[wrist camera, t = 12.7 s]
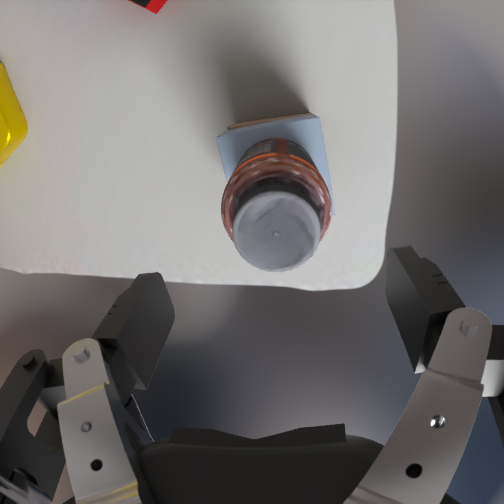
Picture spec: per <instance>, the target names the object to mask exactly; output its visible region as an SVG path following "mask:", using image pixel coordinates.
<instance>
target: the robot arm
mask: <svg viewBox="0 0 504 504" xmlns="http://www.w3.org/2000/svg"><path fill="white" fill-rule="evenodd" d="M386 297H387V302H388V305H389V307H390V310H391V312H392V314H393V317H394V320H395V322H396V325H397V327H398V330H399V332H400V335H401V338H402V340H403V343H404V345H405V348H406V351H407V353H408V356H409V359H410V362H411V365H412V368H413V370H414V373H420V372H423V374H422V376H421V378H420V380H419V383H418V385H417V387H416V389H415V391H414V393H413V395H412V397H411V399H410V401H409V403H408V405H407V407H406V409H405V410H404V412H403V414H402V416H401V418H400V420H399V422H398V423H397V425H396V427H395V429H394V430H393V432H392V434H391V436H390V437H389V439H388V441H387V442H386V444H385V445H382V444H380V443H377V442H375V441H373V440H370V439H367V438H364V437H359V436H354V435H346V434H345V425H344V424H335V425H326V426H316V427H305V428H298V429H294V430H291V431H287V432H284V433H280V434H276V435H272V436H268V437H263V438H259V439H249V438H245V437H241V436H237V435H233V434H228V433H225V432H221V431H217V430H214V429H199V428H185V427H174V428H173V432H172V435H171V438H167V439H162V440H159V441H156V442H154V441H153V440H152V438H151V436H150V434H149V432H148V429H147V427H146V425H145V423H144V420H143V418H142V416H141V413H140V411H139V409H138V406H137V404H136V401H135V399H134V397H133V396H132V391H133V389H147V388H148V385H149V383H150V380H151V377H152V375H153V372H154V370H155V367H156V364H157V362H158V359H159V357H160V355H161V352H162V350H163V347H164V345H165V342H166V340H167V338H168V335H169V333H170V330H171V328H172V325H173V323H174V318H175V314H174V307H173V304H172V302H171V299H170V296H169V294H168V291H167V288H166V285H165V283H164V280H163V277H162V275H161V274H160V273H158V272H155V273H145V274H139V275H138V276H137V277H136V279H135V280H134V282H133V283H132V285H131V286H130V288H128V289H127V290H126V291H124V292H123V293H122V294H121V295H120V296H118V298H117V300H116V301H115V302H114V304H113V307H111V309H110V310H109V311H108V315H106V316H105V317H104V319H103V321H102V322H101V324H100V325H99V327H98V328H97V330H96V331H95V333H94V335H93V336H92V338H87V339H82V340H79V341H77V342H75V343H74V344H72V345H71V346H70V347H69V348H68V349H67V350H66V352H65V353H64V355H63V358H59V359H54V360H49V359H48V358H47V357H46V355H45V354H44V352H43V351H42V350H39V349H36V350H31V351H29V352H27V353H26V354H25V355H23V356H22V357H21V358H20V359H19V360H18V362H17V364H16V365H15V366H14V368H13V370H12V371H11V373H10V374H9V376H8V377H7V379H6V381H5V382H4V384H3V386H2V387H1V389H0V504H52V501H53V497H54V494H55V491H56V488H57V485H58V482H59V479H60V477H61V474H62V471H63V468H64V465H65V462H66V463H67V468H68V472H69V477H70V480H71V485H72V488H73V492H74V496H73V497H72V498H71V499H69V500H68V501H66V502H65V503H63V504H461V503H460V502H458V501H457V500H456V499H454V498H453V497H452V496H450V495H449V494H448V493H446V490H447V488H448V486H449V484H450V482H451V479H452V477H453V475H454V473H455V471H456V468H457V466H458V464H459V461H460V459H461V457H462V454H463V452H464V449H465V446H466V443H467V441H468V438H469V436H470V433H471V430H472V427H473V424H474V421H475V418H476V415H477V412H478V408H479V405H480V402H481V398H482V396H484V397H487V398H488V400H489V403H490V406H491V409H492V412H493V415H494V418H495V421H496V424H497V427H498V430H499V434H500V437H501V440H502V444H503V447H504V325H492V324H491V322H490V320H489V318H488V317H487V316H485V314H484V313H482V312H480V311H478V310H476V309H472V308H466V307H465V305H464V303H463V302H462V300H461V299H460V297H459V296H458V294H457V293H456V292H455V290H454V289H453V287H452V286H451V285H450V283H448V280H447V279H446V277H445V276H443V273H442V272H441V270H440V269H439V268H438V266H437V265H436V264H434V263H433V262H431V261H430V260H428V259H427V258H419V256H418V255H417V253H416V252H415V251H414V249H413V248H412V247H411V246H410V245H406V246H398V247H391V248H389V249H388V257H387V275H386ZM37 400H38V401H39V403H40V404H41V405H42V406H43V407H44V408H45V409H46V410H47V412H46V414H45V416H44V418H43V420H42V422H41V425H40V427H39V429H38V431H37V433H36V435H35V437H34V436H33V435H32V434H31V433H30V432H29V430H28V428H27V419H28V417H29V415H30V413H31V411H32V409H33V407H34V405H35V403H36V401H37Z"/></svg>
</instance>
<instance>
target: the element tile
mask: <svg viewBox="0 0 504 504" xmlns="http://www.w3.org/2000/svg"><path fill="white" fill-rule="evenodd" d="M27 130H28V127H27V122H26V119H25V116H24V114H23V112H22V110H21V107H20V105H19V103H18V100H17V98H16V95H15V93H14V90H13V88H12V85H11V83H10V80H9V77H8V75H7V72H6V69H5V67H4V65H3V64H2V63H0V167H1V166H2V165H3V164H4V162H5V161H6V160H7V159H8V157H9V156H10V155H11V154H12V153H13V151H14V150H15V149H16V148H17V147H18V146H19V144H20V143H21V142H22V141H23V140H24V138H25V137H26V134H27Z"/></svg>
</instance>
